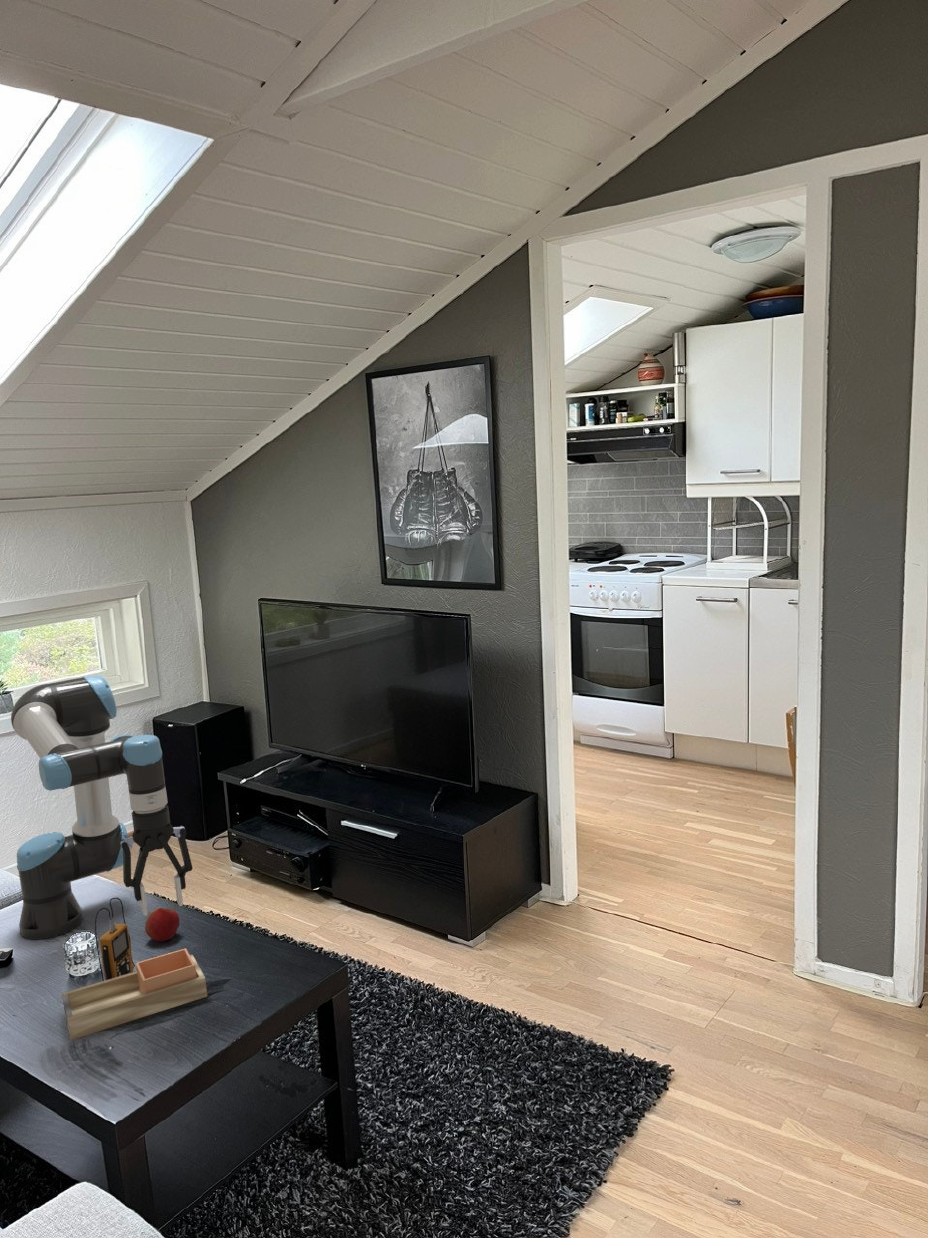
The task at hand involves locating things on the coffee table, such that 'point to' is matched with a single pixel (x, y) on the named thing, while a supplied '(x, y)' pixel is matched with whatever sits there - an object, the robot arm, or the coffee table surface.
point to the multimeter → (115, 949)
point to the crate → (165, 971)
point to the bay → (124, 1002)
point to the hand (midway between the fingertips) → (162, 908)
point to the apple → (162, 924)
